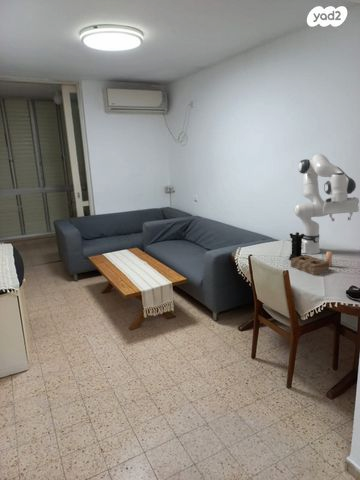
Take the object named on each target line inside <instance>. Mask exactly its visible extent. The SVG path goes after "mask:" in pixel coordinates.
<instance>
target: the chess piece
mask: <svg viewBox="0 0 360 480" xmlns="http://www.w3.org/2000/svg"><path fill="white" fill-rule="evenodd" d="M289 237H290V238H289V239H291V241H290V242H291V254H289V256H288V259H287V260H289V261H291V258H295V257H299V256H303V255H304V254H302V253H301V248H302V239H303V237H304V233H301V234H300V232H297V231H296V232H295V234H293V233H292V232H291V233H289Z"/></svg>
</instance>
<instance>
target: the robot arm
mask: <svg viewBox="0 0 360 480" xmlns="http://www.w3.org/2000/svg"><path fill="white" fill-rule="evenodd" d="M298 172H299V173H300V174H303V177H302V192H303V196H304V197H305V199H308V200H310V201H311V202H302V203H298V204H296V205H295V207H294V215H296V217H298V218H299V219H300V220H301V222H302V225H303V234H304V237H303V239H302V248H301V255H307V254H308V255H317V254H319V253H321V249H320V225H319V223H318V222H316V221H315V220H313V219H312V218H314V217H315V218H317V217H318V218H319V217H327V216H328V215H329V218H330V219H331V222H335V218H334V217H333V215H334V214H347V213H349V216H348V217H347V221H351V220H352V217H353V213H359V212H360V208H359V203H360V200H359V197H356V196H353V197H348V195H351V194H352V193H353V192H354V191H355V190H356V188H357V185H356V181H355V180H354V179H353V178H351V177H350V176H348V175H347V173H346V172H344V170H342V168H340V167H339V166H336V165H335V164H332V162H330V160H329V159H328V157H326V156H325V155H324V154H323V153H317V154H315V155H313V157H312V158H309V159H306V158H305V159H302V160H300V161H299V162H298ZM319 177H322V178H323V177H324V178H330V179H329V180H327V181H326V182H325V183H324V187H323V189H324V193H325V194H327V195H331V197H328V198H325V199H323V198H322V197H321V195H320V190H319V179H318V178H319Z"/></svg>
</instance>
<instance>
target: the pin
mask: <svg viewBox="0 0 360 480" xmlns="http://www.w3.org/2000/svg"><path fill="white" fill-rule="evenodd" d="M325 254H326V256H325V261H327V262H329V268H331V267H332V261H333V252H332V251H326V253H325Z"/></svg>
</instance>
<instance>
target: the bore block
mask: <svg viewBox="0 0 360 480" xmlns="http://www.w3.org/2000/svg"><path fill="white" fill-rule="evenodd" d="M302 255H303V256H299V257H295V258H291V260H290V267H291V268H293V269H296V270H298V271H300V272H301V271H302V272H304V273H306V274H308V275H313V276H315V275H319V274H321V273H325V272H329V271H330V270H329V268H330V267H329V262H327V261H326V260H323V259H320V258H317V257H315V256H312V255H309V254H308V255H307V254H302Z"/></svg>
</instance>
